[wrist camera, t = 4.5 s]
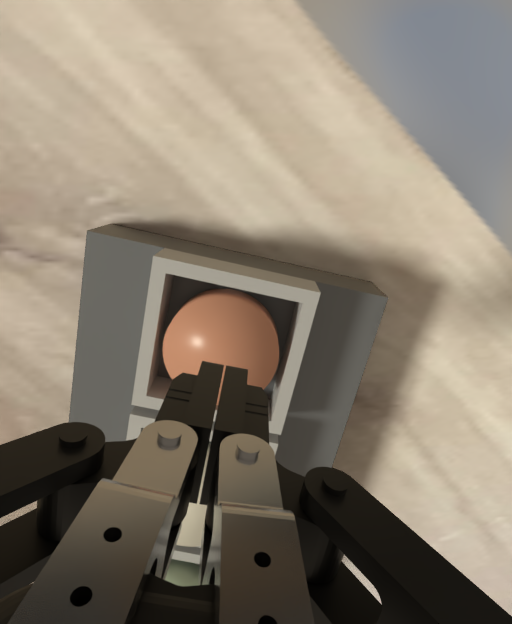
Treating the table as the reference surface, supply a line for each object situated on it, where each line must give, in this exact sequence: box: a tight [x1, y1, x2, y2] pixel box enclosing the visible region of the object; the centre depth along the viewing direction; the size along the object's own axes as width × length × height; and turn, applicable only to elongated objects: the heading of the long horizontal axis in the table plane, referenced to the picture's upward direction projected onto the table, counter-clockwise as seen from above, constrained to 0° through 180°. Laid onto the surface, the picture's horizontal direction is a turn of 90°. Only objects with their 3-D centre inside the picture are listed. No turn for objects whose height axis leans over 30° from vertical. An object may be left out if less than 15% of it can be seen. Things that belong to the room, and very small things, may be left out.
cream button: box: [176, 443, 211, 547], centre depth 20 cm, size 5×5×2 cm
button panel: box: [69, 224, 388, 566], centre depth 23 cm, size 22×14×5 cm, turn 167°
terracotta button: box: [163, 289, 279, 405], centre depth 19 cm, size 5×5×2 cm
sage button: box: [165, 559, 199, 586], centre depth 22 cm, size 5×5×2 cm
